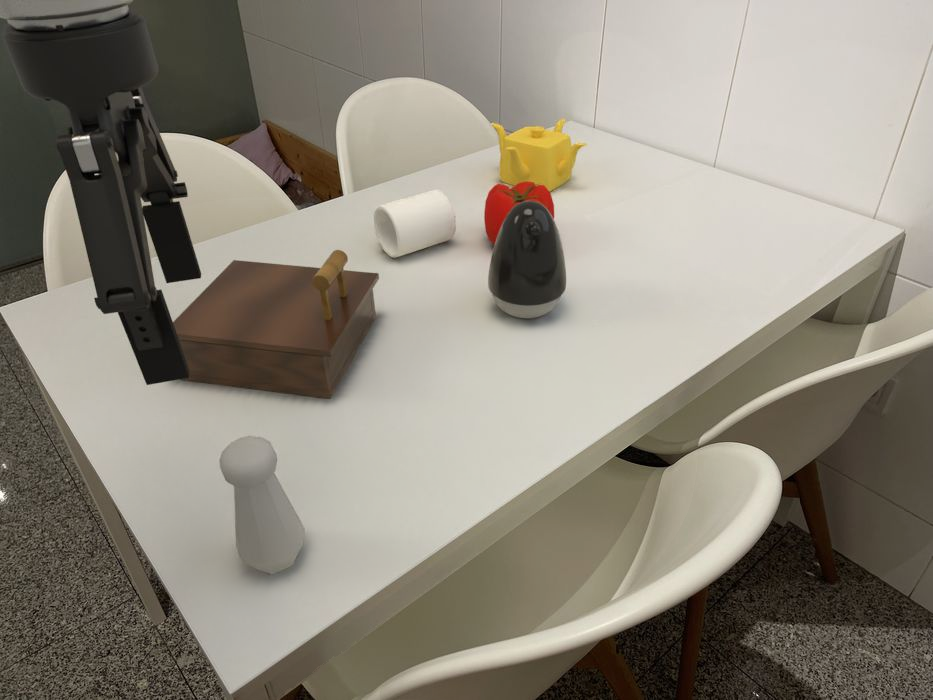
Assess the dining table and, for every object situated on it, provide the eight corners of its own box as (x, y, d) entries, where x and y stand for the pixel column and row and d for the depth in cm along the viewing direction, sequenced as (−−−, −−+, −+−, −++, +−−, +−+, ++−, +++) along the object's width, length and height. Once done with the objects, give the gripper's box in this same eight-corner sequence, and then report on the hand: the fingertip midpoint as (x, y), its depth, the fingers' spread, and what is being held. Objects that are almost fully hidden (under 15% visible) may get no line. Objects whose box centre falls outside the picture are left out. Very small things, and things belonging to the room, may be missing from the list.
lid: (379, 278, 89) (374, 230, 85) (331, 357, 75) (322, 304, 71) (235, 265, 92) (223, 218, 88) (164, 338, 79) (147, 286, 75)
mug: (457, 247, 108) (455, 199, 103) (401, 266, 103) (397, 217, 99) (417, 220, 116) (414, 174, 111) (364, 236, 112) (358, 189, 107)
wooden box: (376, 317, 93) (371, 278, 89) (329, 399, 79) (322, 356, 76) (244, 303, 96) (235, 265, 92) (178, 379, 83) (164, 338, 79)
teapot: (490, 167, 134) (490, 117, 128) (562, 162, 135) (565, 112, 130) (505, 199, 122) (506, 145, 116) (583, 192, 124) (588, 139, 118)
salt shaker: (317, 564, 61) (293, 459, 53) (253, 594, 59) (217, 488, 51) (295, 519, 65) (269, 415, 57) (234, 545, 63) (199, 440, 55)
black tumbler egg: (492, 332, 89) (492, 223, 80) (484, 290, 98) (484, 187, 89) (571, 327, 90) (580, 219, 81) (557, 286, 98) (563, 183, 89)
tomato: (485, 261, 104) (484, 205, 99) (484, 225, 114) (483, 172, 109) (556, 260, 104) (560, 204, 99) (549, 224, 114) (552, 171, 108)
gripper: (104, 61, 30) (223, 422, 43) (162, -25, 50) (232, 241, 63) (-87, 79, 29) (94, 446, 42) (50, -16, 49) (144, 253, 61)
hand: (177, 323), depth 52 cm, fingers open, 13 cm apart
